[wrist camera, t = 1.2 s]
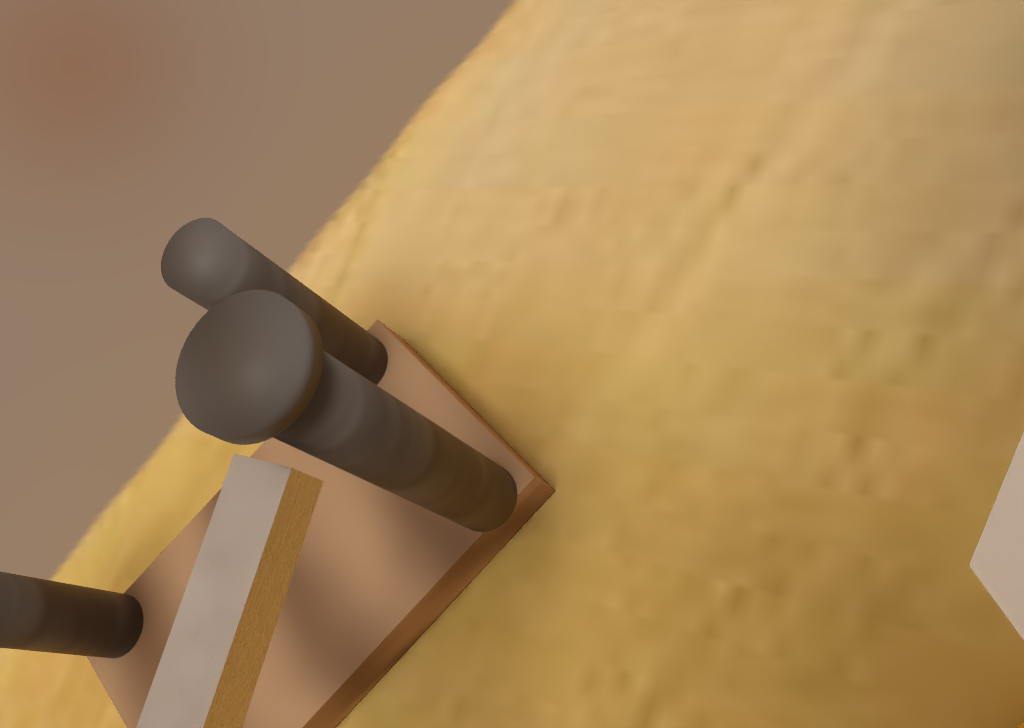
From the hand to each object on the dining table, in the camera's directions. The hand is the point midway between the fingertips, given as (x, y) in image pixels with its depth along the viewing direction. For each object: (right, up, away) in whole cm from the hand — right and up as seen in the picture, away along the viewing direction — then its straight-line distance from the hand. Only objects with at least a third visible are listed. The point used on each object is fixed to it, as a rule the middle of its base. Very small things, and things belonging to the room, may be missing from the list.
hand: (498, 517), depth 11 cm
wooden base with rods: (-8, -8, +32) cm, 34 cm away
